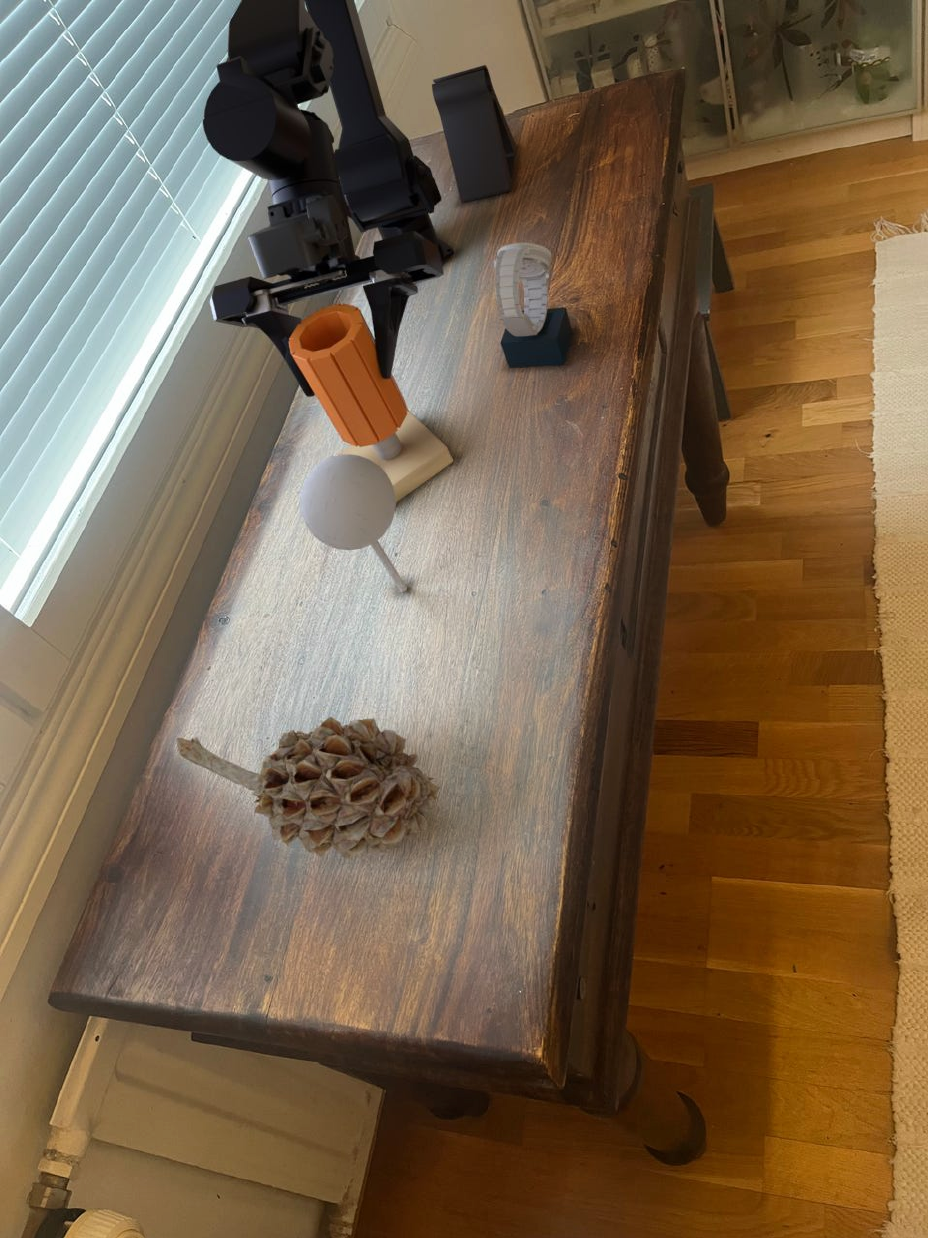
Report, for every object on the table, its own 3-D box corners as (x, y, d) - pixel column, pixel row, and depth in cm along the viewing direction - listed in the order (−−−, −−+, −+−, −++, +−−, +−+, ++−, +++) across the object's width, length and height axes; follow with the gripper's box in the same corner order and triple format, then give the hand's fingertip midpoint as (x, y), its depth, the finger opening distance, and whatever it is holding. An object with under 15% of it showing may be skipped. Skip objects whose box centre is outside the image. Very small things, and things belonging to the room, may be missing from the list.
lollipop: (454, 558, 78) (387, 434, 67) (426, 628, 75) (351, 512, 63) (382, 552, 81) (306, 433, 70) (352, 619, 78) (267, 507, 67)
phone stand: (510, 192, 106) (480, 89, 97) (461, 204, 108) (426, 103, 99) (517, 148, 111) (488, 45, 102) (470, 160, 113) (437, 60, 104)
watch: (577, 319, 91) (550, 220, 82) (560, 377, 87) (530, 280, 78) (522, 323, 93) (491, 227, 84) (504, 381, 89) (469, 286, 80)
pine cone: (475, 764, 67) (429, 698, 59) (439, 895, 62) (383, 842, 55) (227, 733, 76) (158, 672, 68) (179, 845, 71) (99, 794, 63)
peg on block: (345, 468, 89) (310, 412, 83) (412, 421, 90) (383, 362, 84) (383, 512, 84) (349, 456, 78) (454, 461, 85) (426, 402, 79)
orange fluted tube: (327, 423, 84) (276, 337, 76) (386, 382, 85) (341, 292, 77) (359, 458, 80) (308, 371, 72) (420, 414, 81) (376, 323, 73)
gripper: (151, 202, 70) (201, 410, 72) (380, 130, 65) (425, 356, 67) (223, 230, 81) (264, 411, 83) (425, 170, 75) (463, 365, 78)
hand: (347, 387), depth 78 cm, fingers closed on orange fluted tube, 6 cm apart
